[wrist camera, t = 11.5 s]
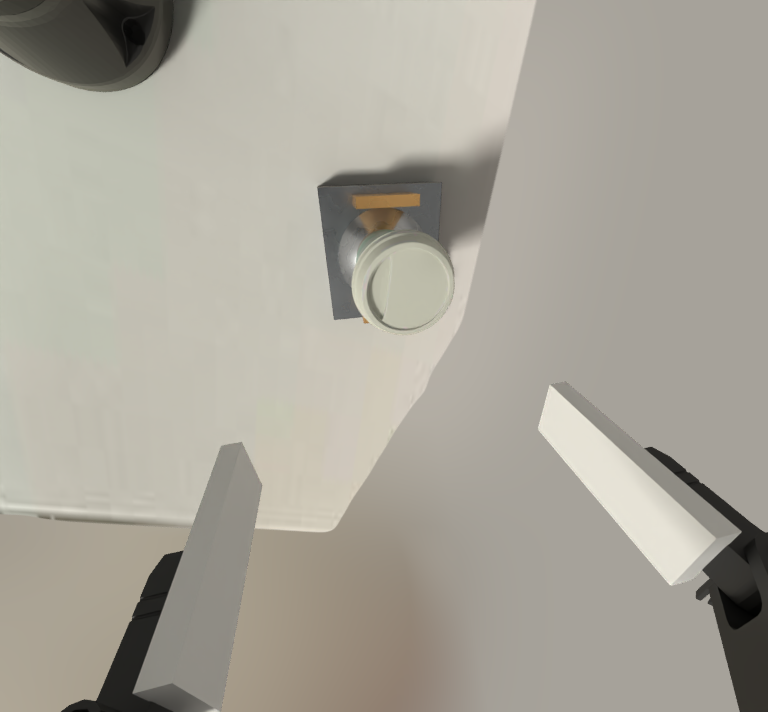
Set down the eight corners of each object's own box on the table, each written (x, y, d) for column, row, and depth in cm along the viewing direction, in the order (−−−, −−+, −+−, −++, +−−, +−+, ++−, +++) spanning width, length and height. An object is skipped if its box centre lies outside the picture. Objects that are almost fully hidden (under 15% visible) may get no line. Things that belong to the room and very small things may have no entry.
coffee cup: (376, 195, 30) (403, 206, 20) (434, 249, 34) (482, 280, 24) (328, 265, 33) (331, 305, 23) (387, 307, 37) (412, 358, 27)
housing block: (317, 186, 31) (317, 188, 26) (434, 182, 33) (454, 183, 28) (333, 311, 39) (335, 332, 34) (428, 302, 40) (443, 321, 35)
